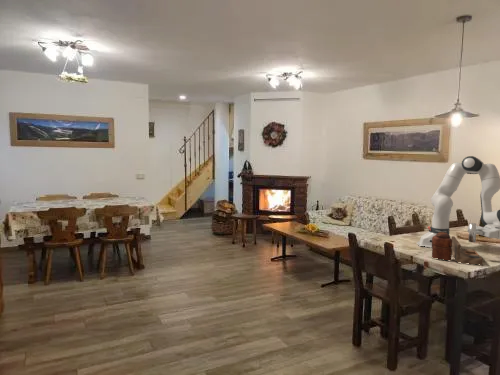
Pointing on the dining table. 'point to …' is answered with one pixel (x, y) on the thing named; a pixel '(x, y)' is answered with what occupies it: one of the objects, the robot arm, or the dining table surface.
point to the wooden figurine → (442, 246)
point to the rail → (465, 254)
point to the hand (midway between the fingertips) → (471, 231)
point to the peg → (471, 229)
